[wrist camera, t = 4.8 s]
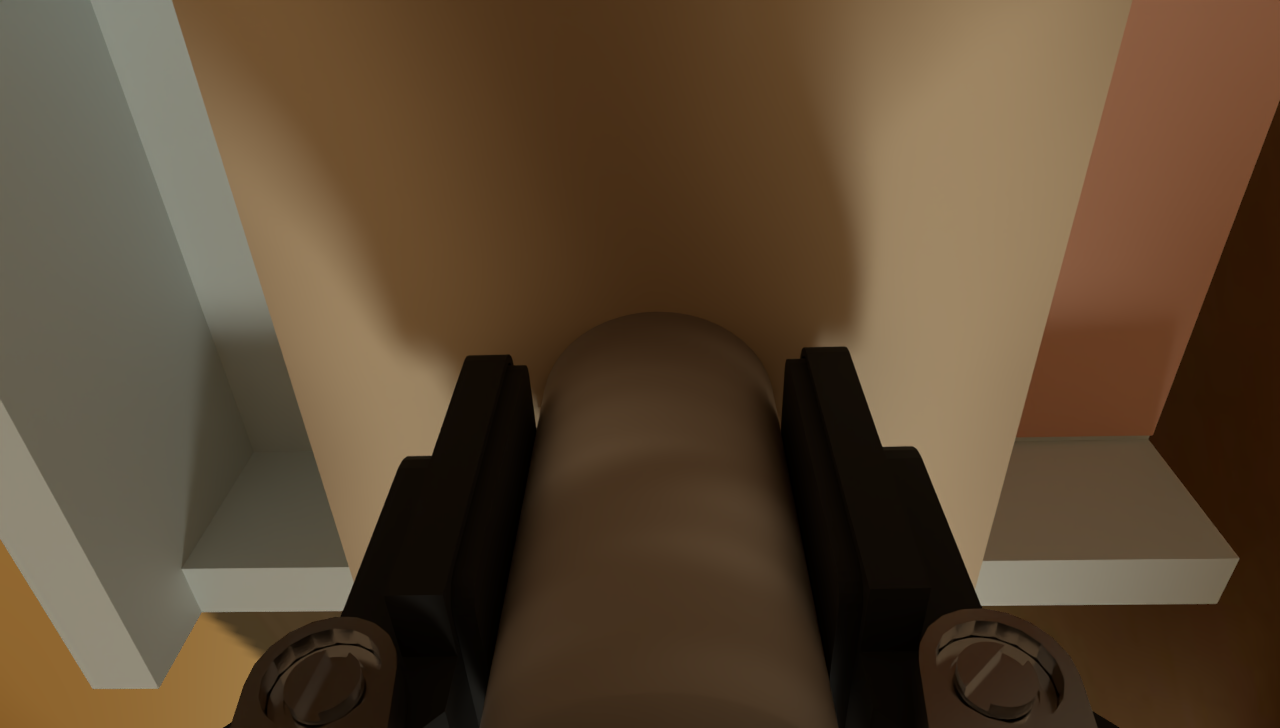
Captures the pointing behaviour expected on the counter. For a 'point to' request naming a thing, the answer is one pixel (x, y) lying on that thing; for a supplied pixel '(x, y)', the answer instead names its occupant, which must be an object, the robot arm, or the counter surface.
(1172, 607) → the counter surface
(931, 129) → the wooden block with knob
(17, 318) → the bay
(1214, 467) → the counter surface
